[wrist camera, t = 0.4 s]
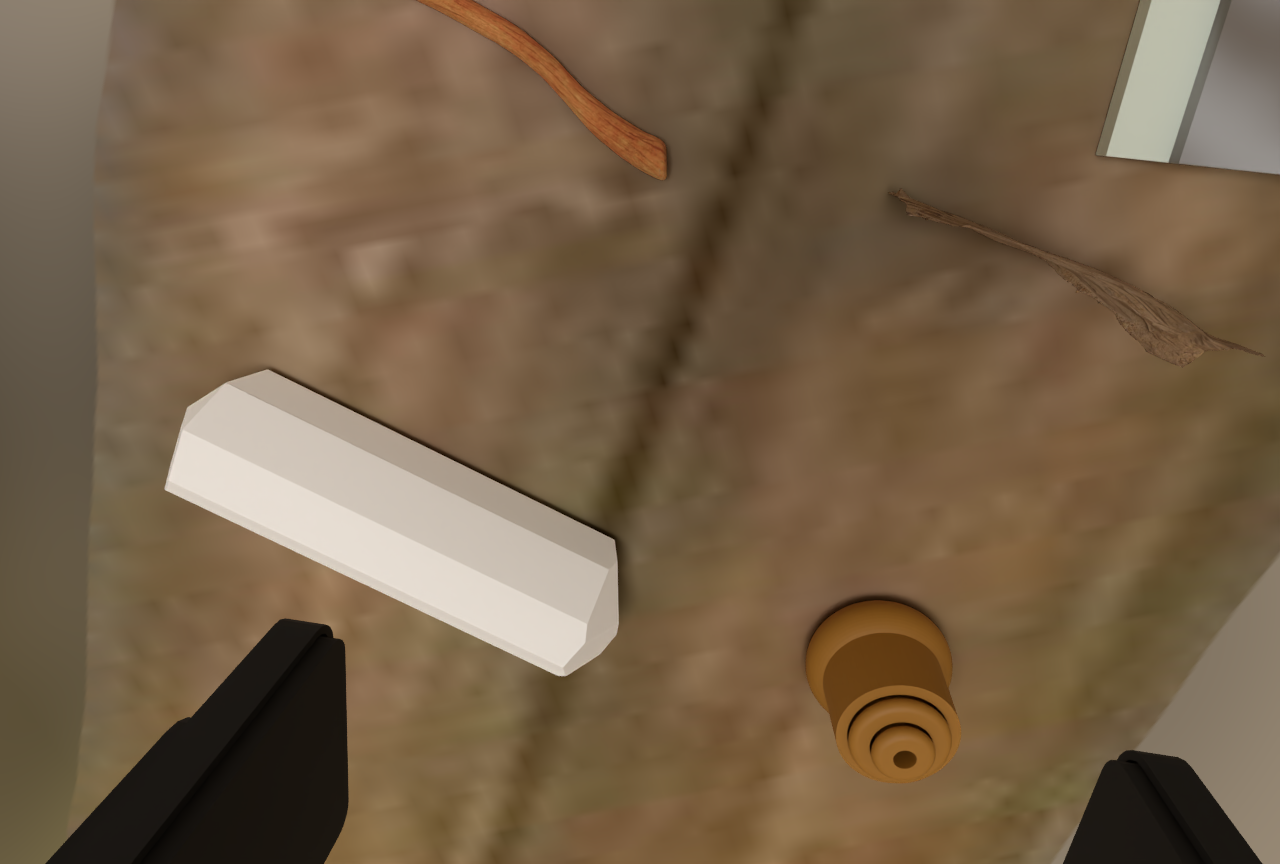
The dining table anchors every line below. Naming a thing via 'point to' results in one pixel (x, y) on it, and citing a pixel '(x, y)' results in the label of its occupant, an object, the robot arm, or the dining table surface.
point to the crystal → (399, 519)
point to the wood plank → (1108, 297)
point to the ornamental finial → (885, 690)
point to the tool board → (1156, 78)
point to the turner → (1236, 93)
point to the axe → (563, 86)
